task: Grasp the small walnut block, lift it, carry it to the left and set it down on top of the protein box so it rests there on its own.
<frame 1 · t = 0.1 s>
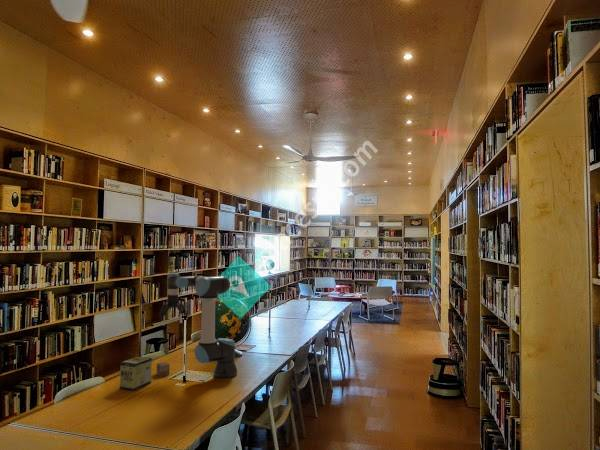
hand: (172, 324, 298), 28 cm above the table, fingers open, 13 cm apart
protein box: (135, 386, 247), on the table
walnut block: (162, 374, 270), on the table
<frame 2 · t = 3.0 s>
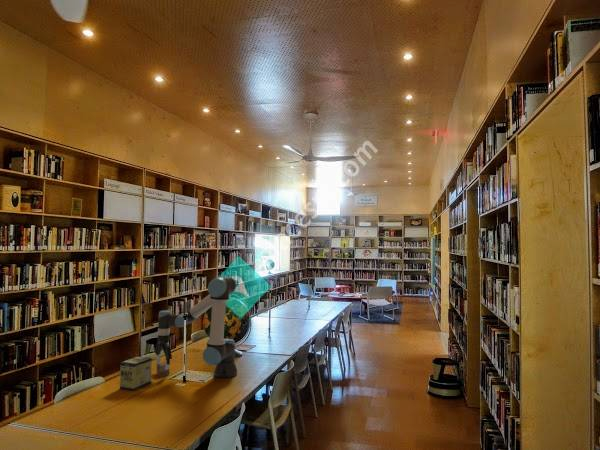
hand: (162, 367, 270), 5 cm above the table, fingers open, 13 cm apart
nothing on the table moved.
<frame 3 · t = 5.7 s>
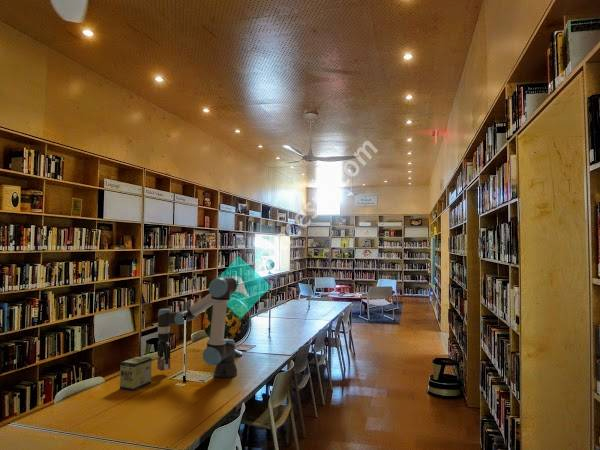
hand: (163, 368, 270), 4 cm above the table, fingers closed on walnut block, 6 cm apart
walnut block: (163, 368, 270), point 4 cm above the table, touching gripper
everything else where it was.
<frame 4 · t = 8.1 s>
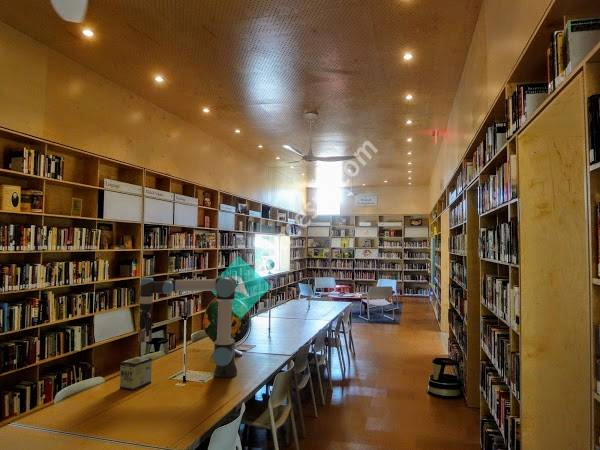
hand: (144, 340, 256), 26 cm above the table, fingers closed on walnut block, 6 cm apart
walnut block: (144, 340, 256), point 25 cm above the table, touching gripper
everything else where it was.
when the fingers open (16 cm above the table, at t = 10.8 s): walnut block stays where it is, resting on protein box.
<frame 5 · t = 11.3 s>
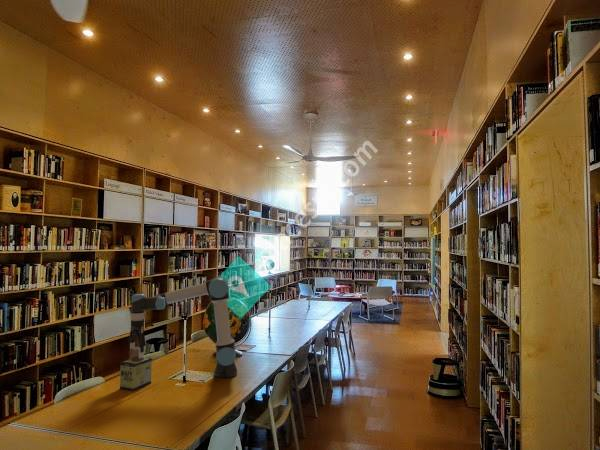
hand: (136, 355, 248), 18 cm above the table, fingers open, 12 cm apart
protein box: (135, 386, 247), on the table, touching walnut block
walnut block: (136, 359, 248), point 15 cm above the table, touching protein box
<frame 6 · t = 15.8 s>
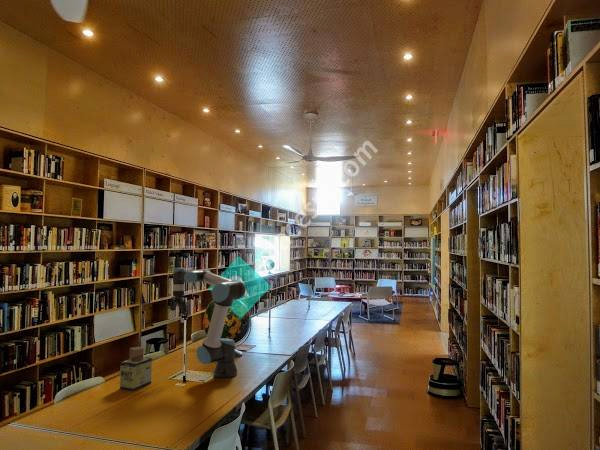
hand: (177, 321, 283), 33 cm above the table, fingers open, 13 cm apart
nothing on the table moved.
at the end: walnut block inside the target area on the protein box (0.1 cm from its centre), point 15.8 cm above the protein box's base; walnut block tilted 0°; the gripper is holding nothing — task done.
